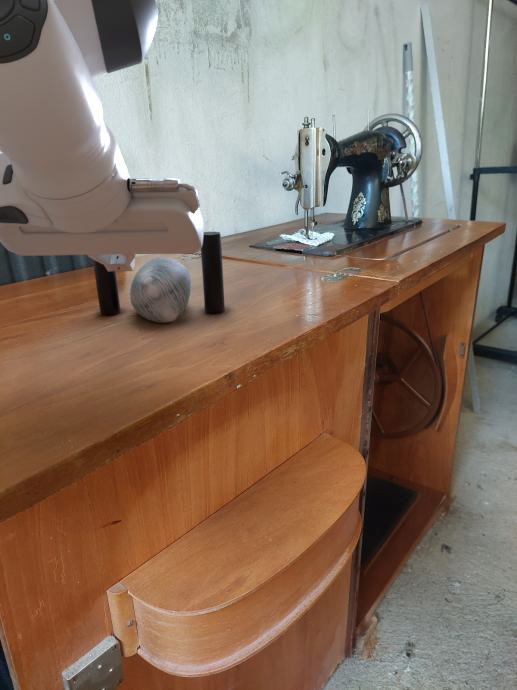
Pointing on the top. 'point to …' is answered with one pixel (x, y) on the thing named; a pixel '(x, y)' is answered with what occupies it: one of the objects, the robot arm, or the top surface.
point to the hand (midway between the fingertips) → (122, 266)
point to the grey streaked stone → (161, 290)
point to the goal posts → (210, 271)
